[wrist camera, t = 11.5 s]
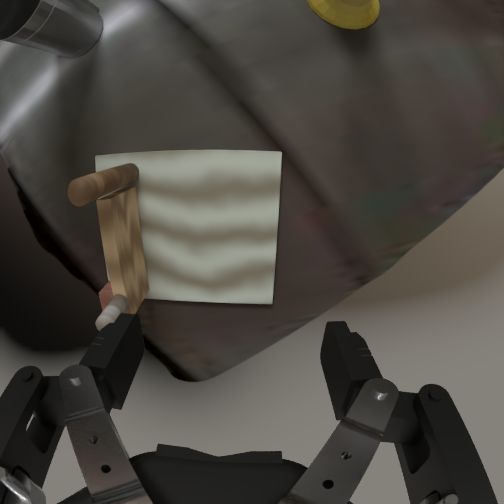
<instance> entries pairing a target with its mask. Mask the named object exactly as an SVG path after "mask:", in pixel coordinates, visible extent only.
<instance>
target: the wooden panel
mask: <svg viewBox="0 0 504 504" xmlns="http://www.w3.org/2000/svg"><path fill="white" fill-rule="evenodd" d="M96 202H97V209H98V217H99V224H100V230H101V237H102V243H103V248H104V254H105V259H106V264H107V269H108V274H109V279H110V283H111V288H112V292H113V296H114V297H113V298H112V300H111V301H110V302H109V304H108V305H107V306H106V308H105V309H104V311H103V312H102V313H101V315H100V316H99V317H98V319H97V320H96V327H97V329H98V330H99V331H100V330H101V329H102V328H103V327H104V326H106V325H107V324H109V323H114V322H115V320H116V319H117V317H118V316H119V314H120V313H130V314H135V313H136V312H137V310H138V308H139V306H140V305H141V303H142V301H143V300H144V298H145V296H146V294H147V293H148V291H149V285H148V279H147V273H146V266H145V260H144V253H143V246H142V238H141V230H140V222H139V213H138V203H137V192H136V186H132V187H123V188H121V189H119V190H117V191H115V192H112V193H110V194H108V195H106V196H104V197H102V198H100V199H98V200H96Z"/></svg>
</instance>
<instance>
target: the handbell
mask: <svg viewBox="0 0 504 504" xmlns="http://www.w3.org/2000/svg"><path fill="white" fill-rule="evenodd" d="M307 2H308V3H309V5H310V7H311V9H312V10H313V11H314V12H315V13H316V14H317V15H318V16H319V17H321V18H322V19H324V20H326V21H327V22H329V23H330V24H333V25H336V26H339V27H341V28H347V29H360V28H366V27H368V26H369V25H371V24H373V23H374V22H375V20H376V19H377V17H378V16H379V10H380V5H379V1H378V0H307Z"/></svg>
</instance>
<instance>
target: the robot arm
mask: <svg viewBox="0 0 504 504" xmlns="http://www.w3.org/2000/svg"><path fill="white" fill-rule="evenodd" d="M102 27H103V20H102V18H101V16H100V15H99V13H98V7H96V6H95V5H94V4H92V3H91V2H89V1H88V0H0V40H3V41H7V42H12V43H16V44H20V45H24V46H28V47H32V48H35V49H39V50H42V51H46V52H49V53H53V54H56V55H59V56H61V57H66V58H76V57H79V56H81V55H83V54H85V53H86V52H87V51H89V50H90V49H91V48H92V47H93V46H94V45H95V43H96V42H97V40H98V39H99V37H100V35H101V32H102ZM143 354H144V339H143V334H142V329H141V324H140V319H139V316H138V315H137V314H130V313H120V314H119V316H118V317H117V319H116V320H115V322H114V323H109V324H107V325H106V326H104V327H103V328H102V329H101V330H100V332H99V333H98V335H97V336H96V338H95V339H94V341H93V343H92V344H91V345H90V347H89V349H88V350H87V352H86V353H85V355H84V357H83V358H82V360H81V361H80V363H79V365H72V366H69V367H67V368H66V369H64V370H63V371H62V372H61V374H60V376H43V375H42V373H41V371H40V369H39V368H37V367H35V366H26V367H23V368H21V369H20V370H18V371H17V372H16V373H15V375H14V377H13V378H12V379H11V381H10V383H9V384H8V386H7V387H6V389H5V390H4V392H3V394H2V395H1V397H0V504H46V497H45V494H44V492H43V491H42V487H43V484H44V481H45V478H46V475H47V472H48V469H49V466H50V464H51V461H52V458H53V455H54V452H55V450H56V447H57V445H58V442H59V440H60V437H61V435H62V432H63V430H64V427H65V426H67V430H68V433H69V436H70V440H71V443H72V446H73V449H74V452H75V455H76V458H77V461H78V464H79V466H80V469H81V472H82V474H83V477H84V479H85V482H86V484H87V486H86V487H85V488H83V489H81V490H80V491H78V492H76V493H75V494H73V495H71V496H70V497H68V498H66V499H64V500H63V501H61V502H59V503H57V504H353V503H352V502H350V501H349V500H350V498H351V496H352V494H353V493H354V491H355V489H356V488H357V486H358V484H359V483H360V481H361V479H362V477H363V475H364V474H365V472H366V470H367V468H368V466H369V464H370V462H371V460H372V458H373V456H374V454H375V452H376V450H377V448H378V446H379V444H380V442H391V443H394V444H395V448H396V451H397V454H398V458H399V461H400V465H401V468H402V472H403V476H404V480H405V483H406V488H407V492H408V496H409V500H410V504H498V503H497V500H496V497H495V494H494V491H493V489H492V486H491V484H490V481H489V478H488V476H487V473H486V471H485V469H484V466H483V464H482V461H481V459H480V457H479V455H478V452H477V450H476V448H475V445H474V444H473V441H472V439H471V437H470V435H469V433H468V430H467V428H466V426H465V424H464V422H463V420H462V418H461V416H460V414H459V412H458V410H457V408H456V406H455V405H454V402H453V400H452V399H451V397H450V395H449V393H448V392H447V391H446V389H444V388H443V387H441V386H439V385H436V384H428V385H424V386H423V387H422V388H421V389H420V391H419V392H418V393H409V392H401V391H398V389H397V387H396V386H395V385H394V384H393V383H392V382H391V381H389V380H387V379H383V377H382V375H381V373H380V371H379V369H378V367H377V365H376V363H375V360H374V358H373V356H371V352H370V350H369V349H368V346H367V344H366V342H365V340H364V339H363V338H362V337H361V336H360V335H359V334H358V333H357V332H353V333H352V332H350V330H349V328H348V326H347V324H346V322H345V321H333V322H327V324H326V328H325V333H324V337H323V342H322V347H321V353H320V359H321V365H322V368H323V372H324V375H325V379H326V383H327V386H328V390H329V394H330V398H331V401H332V405H333V409H334V413H335V417H336V420H341V421H340V423H339V424H338V426H337V427H336V429H335V431H334V432H333V433H332V435H331V436H330V438H329V439H328V441H327V443H326V444H325V445H324V447H323V448H322V450H321V451H320V452H319V454H318V455H317V457H316V458H315V460H314V461H313V462H312V463H311V465H310V466H309V468H307V467H305V466H303V465H301V464H299V463H296V462H293V461H290V460H285V459H282V452H281V451H262V452H261V451H259V452H258V451H252V452H251V451H250V452H245V453H240V454H234V455H228V456H220V457H217V456H213V455H210V454H206V453H203V452H199V451H196V450H193V449H190V448H187V447H179V446H171V445H164V444H158V446H157V451H154V452H147V453H143V454H139V455H136V456H134V457H132V458H130V456H129V454H128V452H127V450H126V448H125V446H124V444H123V442H122V440H121V438H120V436H119V434H118V432H117V430H116V427H115V425H114V423H113V421H112V419H111V416H110V411H111V409H112V408H115V409H119V410H121V409H122V406H123V404H124V401H125V399H126V396H127V394H128V391H129V389H130V386H131V384H132V381H133V379H134V376H135V374H136V371H137V369H138V367H139V364H140V362H141V360H142V357H143ZM32 414H33V415H34V417H33V419H32V421H31V423H30V425H29V427H28V429H27V431H26V427H27V424H28V422H29V420H30V418H31V416H32Z"/></svg>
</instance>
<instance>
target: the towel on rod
mask: <svg viewBox="0 0 504 504" xmlns="http://www.w3.org/2000/svg"><path fill="white" fill-rule="evenodd" d="M281 159H282V152H274V151H249V150H175V151H150V152H134V153H120V154H108V155H98V156H95V162H96V173H93V174H89V175H86V176H83V177H80V178H77V179H74V180H73V181H71V182H70V184H69V186H68V191H67V193H68V198H69V200H70V202H71V203H72V204H73V205H75V206H78V207H82V206H84V205H86V204H88V203H90V202H92V201H94V200H96V199H100V198H102V197H104V196H106V195H108V194H110V193H112V192H115V191H117V190H119V189H121V188H123V187H132V186H136V192H137V203H138V213H139V222H140V230H141V238H142V246H143V253H144V260H145V266H146V273H147V279H148V285H149V291H148V293H147V294H146V296H145V298H147V299H162V300H178V301H197V302H220V303H250V304H272V300H273V287H274V274H275V260H276V245H277V230H278V214H279V197H280V179H281ZM103 249H104V248H103ZM104 256H105V254H104ZM105 262H106V259H105ZM106 269H107V264H106ZM107 274H108V269H107ZM108 280H109V282H108V283H107V284H106V285H105V286H104V287H103V289H102V290H101V291H100V292H99V297H100V301H101V306H102V310H104V309H105V308H106V306H107V305H108V304H109V302H110V301H111V300H112V298H113V297H114V296H113V292H112V288H111V283H110V279H109V274H108Z"/></svg>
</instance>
